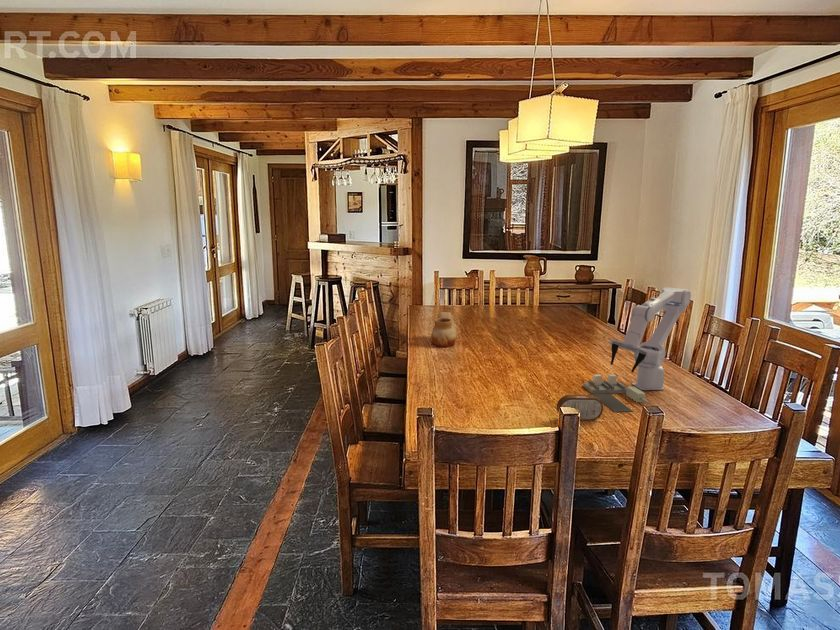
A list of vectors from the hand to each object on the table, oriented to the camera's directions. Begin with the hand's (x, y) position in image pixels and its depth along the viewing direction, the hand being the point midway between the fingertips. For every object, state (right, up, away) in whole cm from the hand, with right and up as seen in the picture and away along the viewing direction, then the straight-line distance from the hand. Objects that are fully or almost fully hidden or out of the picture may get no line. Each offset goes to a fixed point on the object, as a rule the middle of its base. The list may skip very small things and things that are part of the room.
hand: (621, 368), depth 192 cm
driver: (+5, -12, -2) cm, 13 cm away
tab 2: (+1, -7, +12) cm, 14 cm away
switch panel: (-2, -9, +10) cm, 14 cm away
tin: (-22, -15, -21) cm, 34 cm away
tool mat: (-5, -12, -4) cm, 14 cm away
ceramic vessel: (-62, +5, +83) cm, 104 cm away
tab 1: (-5, -7, +11) cm, 15 cm away
